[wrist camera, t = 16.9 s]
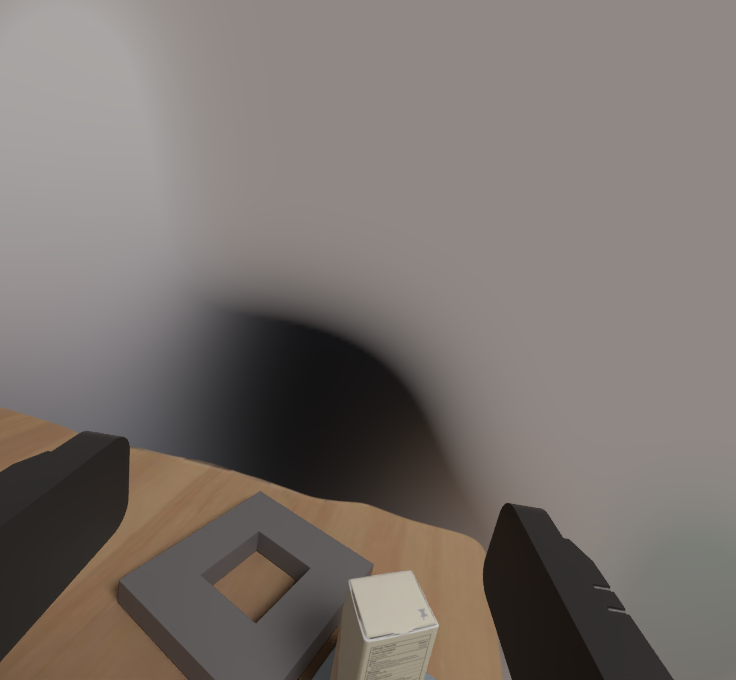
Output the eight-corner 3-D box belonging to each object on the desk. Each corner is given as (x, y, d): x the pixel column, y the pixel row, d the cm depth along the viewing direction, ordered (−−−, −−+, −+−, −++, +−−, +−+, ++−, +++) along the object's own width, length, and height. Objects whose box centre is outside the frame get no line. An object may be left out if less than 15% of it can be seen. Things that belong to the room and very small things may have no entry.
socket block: (118, 603, 33) (118, 580, 32) (258, 508, 46) (260, 491, 46) (248, 745, 26) (252, 719, 25) (369, 583, 39) (373, 564, 39)
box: (386, 678, 30) (416, 567, 28) (408, 747, 27) (444, 625, 24) (322, 693, 29) (346, 576, 26) (335, 769, 25) (365, 640, 22)
